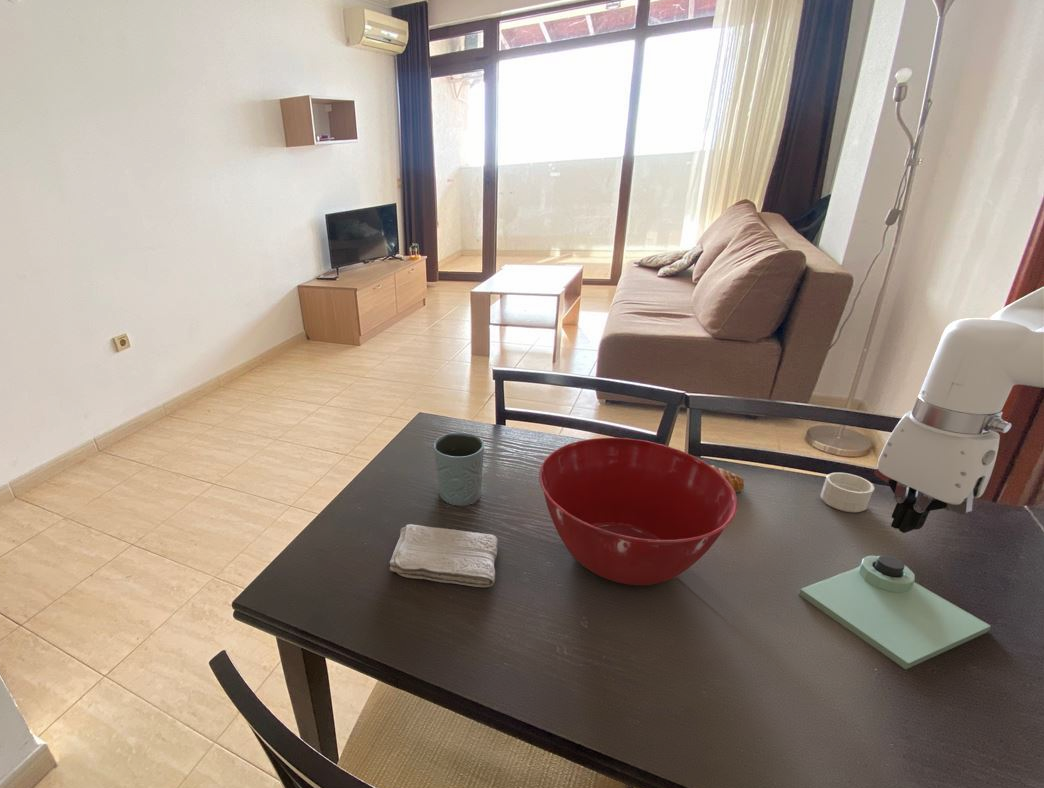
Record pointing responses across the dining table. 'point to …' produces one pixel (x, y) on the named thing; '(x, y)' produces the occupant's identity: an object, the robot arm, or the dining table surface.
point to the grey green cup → (459, 467)
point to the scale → (894, 613)
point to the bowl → (847, 492)
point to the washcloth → (445, 556)
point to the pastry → (732, 479)
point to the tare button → (889, 566)
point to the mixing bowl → (635, 507)
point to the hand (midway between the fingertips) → (904, 527)
